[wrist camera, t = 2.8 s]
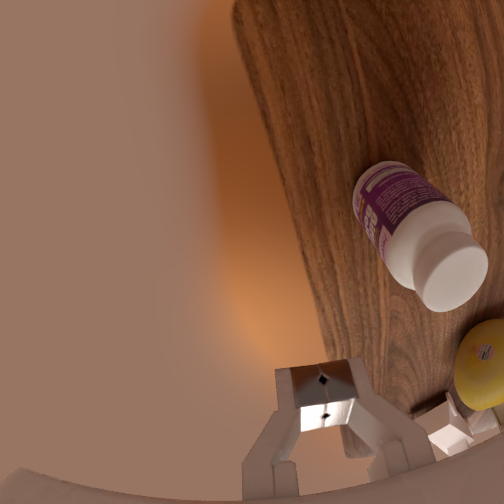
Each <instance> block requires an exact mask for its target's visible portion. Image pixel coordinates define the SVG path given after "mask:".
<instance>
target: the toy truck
mask: <svg viewBox="0 0 504 504" xmlns="http://www.w3.org/2000/svg"><path fill="white" fill-rule="evenodd" d="M445 394H446V398H447V401H445V402H444V403H442V404H440V405H439V406H437V407H435V408H434V409H432V410H430V411H429V412H427V413H425V414H423V415H421V416H420V417H418V418H415V417H414V416H413V415H412V414H411V415H409V418H411V419H412V420H413V421H414V422H416V423H417V424H418V425H420V426H421V427H422V428H424V429H425V430H426V432H427V435H428V438H429V440H430V441H431V442H433V443H434V444H435V445H437V446H438V447H439V448H440V449H441V450H443V451H444V452H445V453H447V454H448V455H449V457H450V456H453V455H455V454H457V453H460V452H462V451H464V450H467V449H469V448H471V446H470V443H471V442H472V441H474V440H475V439H474V437H473V431H472V428H471V426H470V423H469V421H468V419H467V417H466V418H465V420H464V419H463V418H462V416H461V415H460V414H459V413H458V411H457V410H456V407H455V404H454V402H453V399H452V397H451V395H450V393H449V392H446V393H445Z"/></svg>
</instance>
